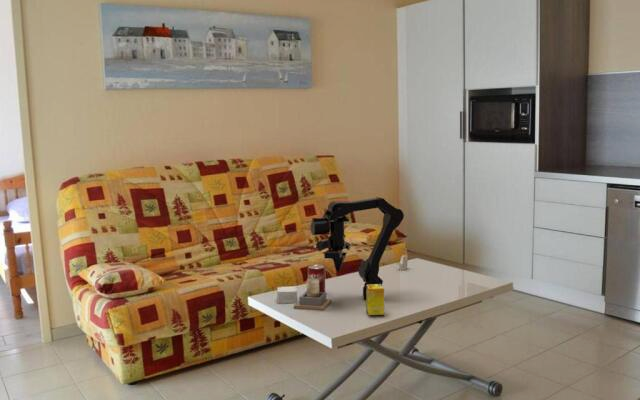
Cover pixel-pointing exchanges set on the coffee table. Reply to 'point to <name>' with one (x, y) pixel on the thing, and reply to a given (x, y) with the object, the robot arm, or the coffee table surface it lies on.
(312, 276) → the soda can
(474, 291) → the coffee table surface
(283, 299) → the small box
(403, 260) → the architectural model
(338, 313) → the coffee table surface
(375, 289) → the supplement box
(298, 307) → the sleeve socket
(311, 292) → the maple peg
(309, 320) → the coffee table surface
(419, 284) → the coffee table surface
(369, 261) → the robot arm
